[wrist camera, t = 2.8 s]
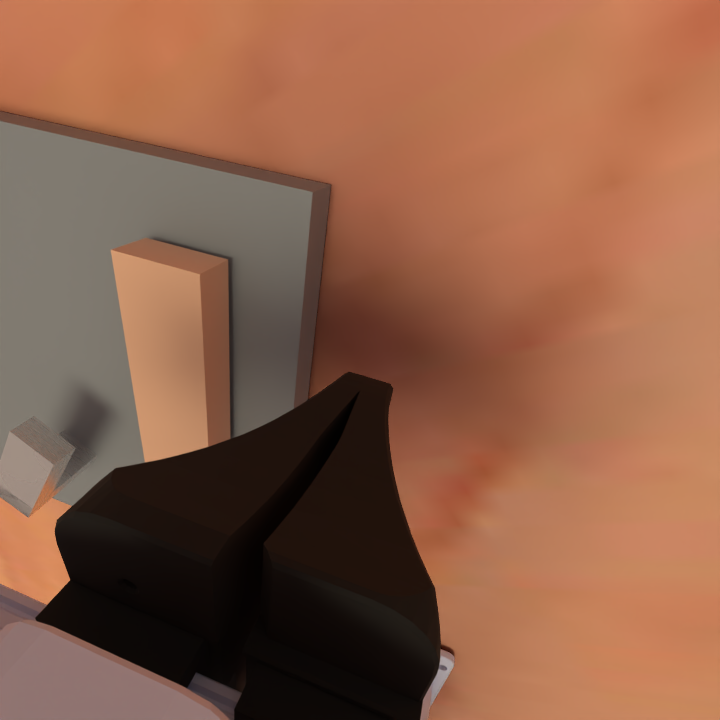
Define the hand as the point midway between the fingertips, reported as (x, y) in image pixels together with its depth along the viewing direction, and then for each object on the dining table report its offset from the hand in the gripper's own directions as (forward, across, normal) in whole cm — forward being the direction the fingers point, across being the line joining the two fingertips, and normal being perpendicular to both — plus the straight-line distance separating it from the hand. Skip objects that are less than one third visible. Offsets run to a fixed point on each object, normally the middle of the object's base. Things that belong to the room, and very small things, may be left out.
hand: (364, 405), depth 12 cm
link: (+2, +7, +5) cm, 9 cm away
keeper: (+2, +13, +8) cm, 16 cm away
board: (+4, +13, +5) cm, 14 cm away
